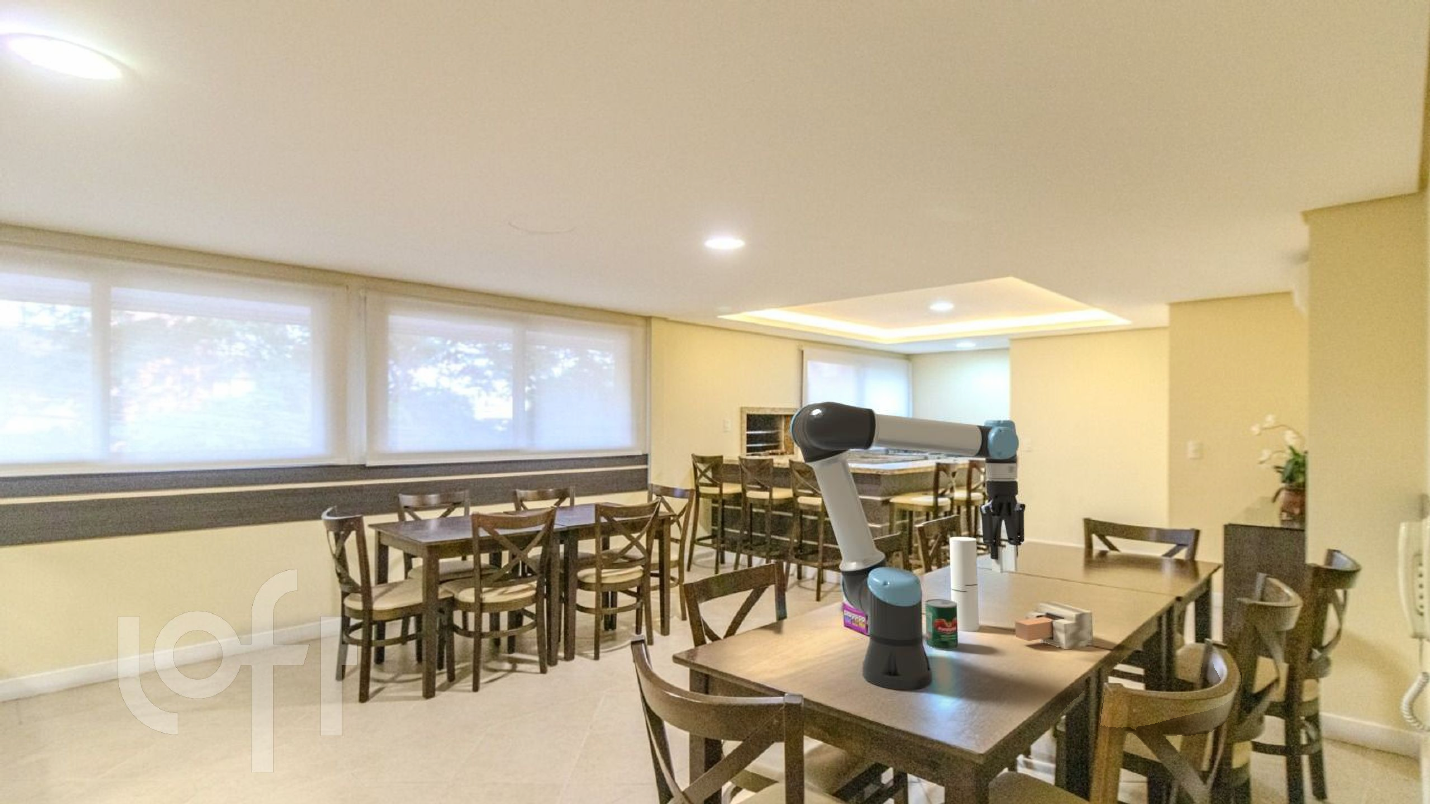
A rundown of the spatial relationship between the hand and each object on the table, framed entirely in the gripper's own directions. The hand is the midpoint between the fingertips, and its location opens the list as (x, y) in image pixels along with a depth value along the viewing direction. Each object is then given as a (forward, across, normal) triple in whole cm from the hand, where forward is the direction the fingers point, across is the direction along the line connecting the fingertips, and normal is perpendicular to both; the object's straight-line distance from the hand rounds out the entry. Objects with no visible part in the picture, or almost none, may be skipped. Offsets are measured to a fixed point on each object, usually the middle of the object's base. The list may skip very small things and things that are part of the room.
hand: (1004, 571), depth 167 cm
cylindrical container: (+20, +4, +19) cm, 28 cm away
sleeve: (+20, +18, 0) cm, 27 cm away
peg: (+18, +10, 0) cm, 20 cm away
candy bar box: (+20, -24, +29) cm, 43 cm away
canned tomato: (+20, -13, +9) cm, 25 cm away
